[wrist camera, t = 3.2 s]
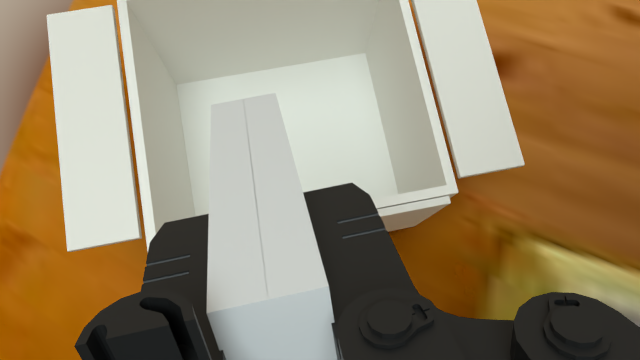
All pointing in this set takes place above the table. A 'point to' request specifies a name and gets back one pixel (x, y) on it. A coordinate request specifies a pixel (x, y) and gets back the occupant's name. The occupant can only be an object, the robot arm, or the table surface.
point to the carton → (293, 98)
